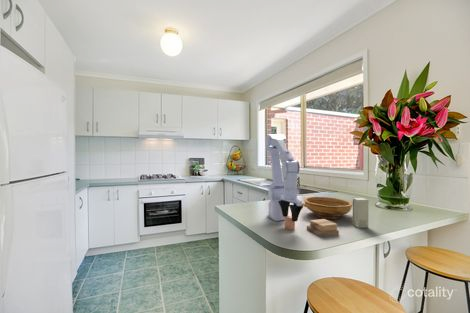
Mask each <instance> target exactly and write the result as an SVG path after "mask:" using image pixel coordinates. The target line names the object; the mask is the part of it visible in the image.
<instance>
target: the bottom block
mask: <svg viewBox="0 0 470 313" xmlns="http://www.w3.org/2000/svg"><path fill="white" fill-rule="evenodd" d="M306 230H307V231H308V232H310V233H311V234H313V235H315V236H317V237H319V238H326V237H332V236H333V237H334V236H339V235H340V231H339V229H337V230H333V231H325V232H321V231H319V230H317V229H315V228H313V227H311V226H310V224H309V225H306Z"/></svg>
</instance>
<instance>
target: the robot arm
mask: <svg viewBox="0 0 470 313" xmlns="http://www.w3.org/2000/svg"><path fill="white" fill-rule="evenodd" d="M286 144H287V137H286V135H285V134H270V133H268V134H266V137H265V148H266V152H268V153H269V156H270V165H271V173H272V183H270V184H269V185H268V190H267V192H268V195H267V196H268V199H269V202H268V214H266V216H267V217H268V218H270V219H272V220H273V221H275V222H277V221H279V222H280V221H285V216H289V208H290V212H291V216H292V221H293V222H294V221H295V222H298V221H299V220H298V219H299V215H300V214H301V211H302V209H303V208H304V206H303V205H302V203H303V201H302V200H300V199H299V198H298V174H299V173H300V163H299V161H298V160H296V159H295V158H294V157H293V155H292V153H291V151H290V150H288V149H287V146H286Z"/></svg>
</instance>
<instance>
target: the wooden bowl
mask: <svg viewBox="0 0 470 313" xmlns="http://www.w3.org/2000/svg"><path fill="white" fill-rule="evenodd" d="M303 201H304V202H302V205H303V207H305V208H307V210H309V211H310V212H312V213H314V214H315V215H316V216H317V217H319V218H321V219H327V220H329V219H330V220H331V219H334V220H335V219H338V218H339V217H340V216H344V215H347V214H348V213H350V211H351V210H352V209H353V201H350V200H347V199H343V198H338V197H332V196H331V197H330V196H310V197H309V196H308V197H304V199H303Z"/></svg>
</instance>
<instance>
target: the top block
mask: <svg viewBox="0 0 470 313" xmlns="http://www.w3.org/2000/svg"><path fill="white" fill-rule="evenodd" d="M309 222H310V223H309V225H310V226H311V227H313V228H315V229H317V230H319V231H321V232H325V231H333V230H338V224H337V223H336V222H334V221H331V220H329V219H327V218H321V219H310V220H309Z"/></svg>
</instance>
